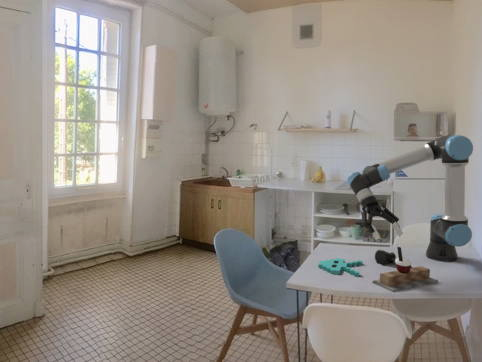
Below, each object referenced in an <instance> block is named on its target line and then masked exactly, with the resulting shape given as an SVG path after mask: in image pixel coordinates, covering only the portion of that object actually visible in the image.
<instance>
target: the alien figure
mask: <svg viewBox="0 0 482 362" xmlns="http://www.w3.org/2000/svg"><path fill="white" fill-rule="evenodd" d="M353 266H354V267H358V266H363V259H362V260H361V259H357V261H356V260H353V261H347V262H345V258H339V257H338V258H336V257H335V259H334V258H331V259H325V260H320V261H319V263H318V265H317V267H318V268H319V269H321V270H322V269H325V270H324V271H325V272H326V271H329V272H328V273H329V274H330V273H333V274H332V275H340V274H341V271H345V273H349V274H350V275H353V276H354V277H359V278H360V271H358V270H356V269H354V268H352V267H353Z"/></svg>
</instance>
